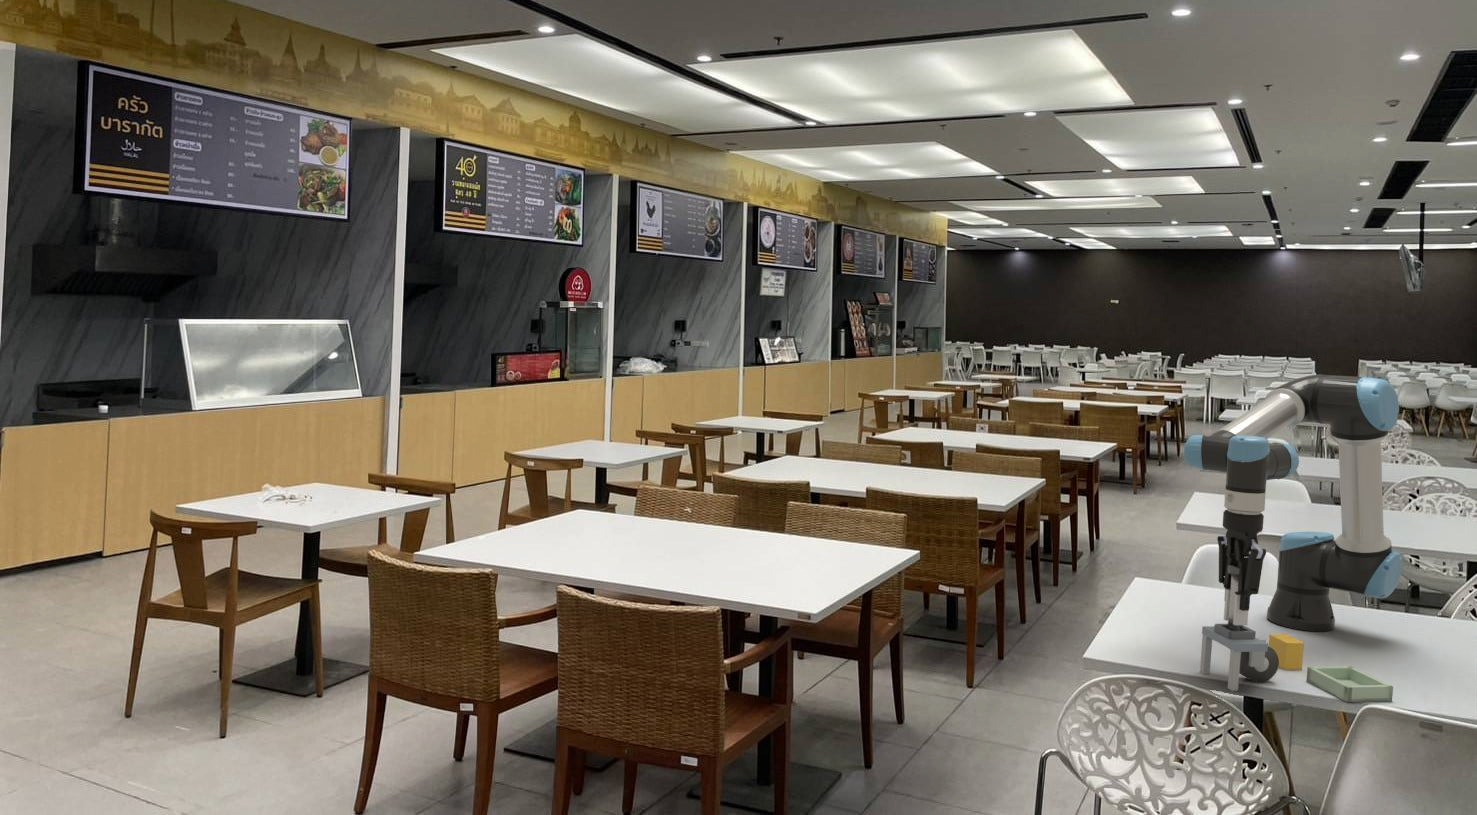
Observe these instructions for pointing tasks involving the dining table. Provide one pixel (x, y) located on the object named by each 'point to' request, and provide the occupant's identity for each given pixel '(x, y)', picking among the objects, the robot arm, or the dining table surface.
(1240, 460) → the robot arm
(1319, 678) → the tray
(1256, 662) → the cart
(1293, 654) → the block
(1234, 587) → the pin
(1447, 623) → the dining table surface
